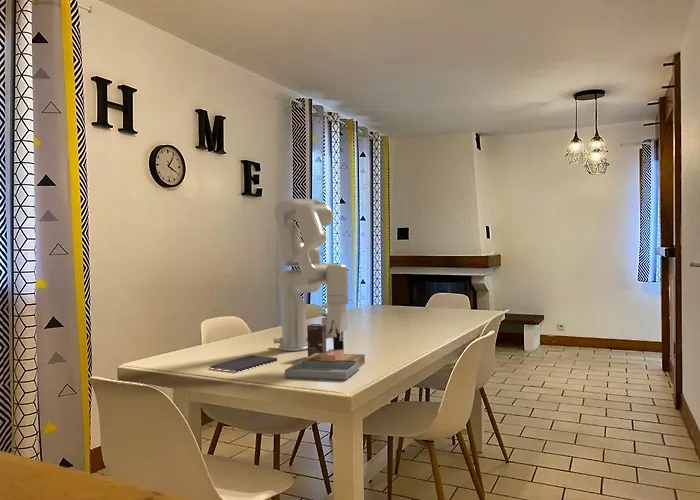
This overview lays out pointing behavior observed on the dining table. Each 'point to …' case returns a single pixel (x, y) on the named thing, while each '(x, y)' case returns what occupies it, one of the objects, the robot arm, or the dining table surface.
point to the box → (316, 338)
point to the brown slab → (346, 358)
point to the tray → (322, 370)
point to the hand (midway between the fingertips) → (338, 352)
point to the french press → (324, 321)
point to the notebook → (243, 363)
